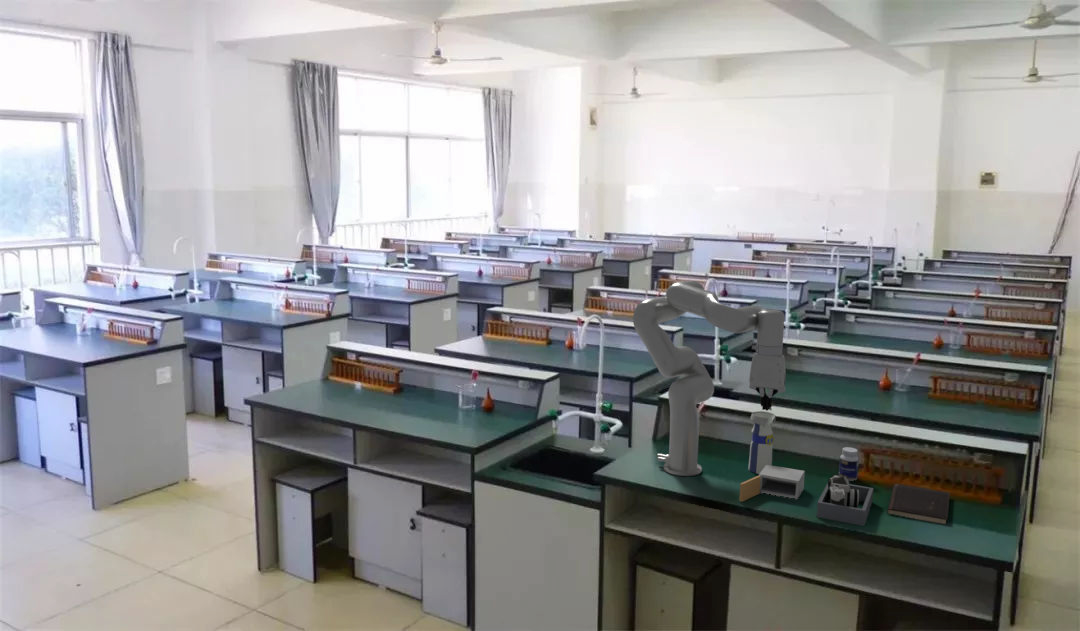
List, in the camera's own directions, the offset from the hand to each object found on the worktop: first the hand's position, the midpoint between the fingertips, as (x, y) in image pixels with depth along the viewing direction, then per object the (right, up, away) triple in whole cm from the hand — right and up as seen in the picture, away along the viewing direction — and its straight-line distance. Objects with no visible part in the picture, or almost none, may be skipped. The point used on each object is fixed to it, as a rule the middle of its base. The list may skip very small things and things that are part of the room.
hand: (766, 408), depth 258 cm
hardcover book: (+45, -29, -4) cm, 54 cm away
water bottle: (+5, -24, +25) cm, 35 cm away
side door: (-5, -27, +1) cm, 27 cm away
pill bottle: (+32, -25, +18) cm, 44 cm away
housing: (+6, -26, +7) cm, 28 cm away
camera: (+20, -29, -8) cm, 37 cm away
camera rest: (+21, -29, -8) cm, 37 cm away
